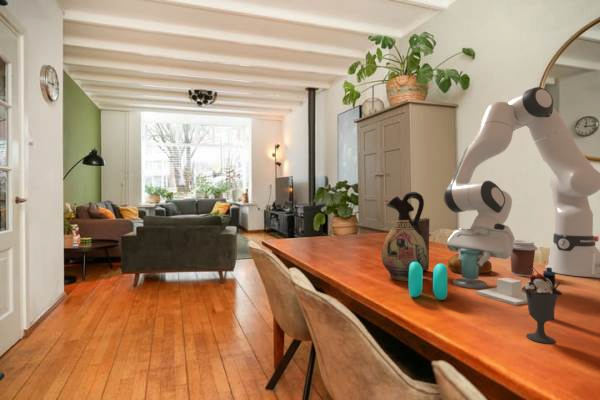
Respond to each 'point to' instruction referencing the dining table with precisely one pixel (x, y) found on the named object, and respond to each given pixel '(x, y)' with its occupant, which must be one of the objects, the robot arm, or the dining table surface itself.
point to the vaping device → (550, 278)
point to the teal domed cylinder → (469, 263)
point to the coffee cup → (522, 257)
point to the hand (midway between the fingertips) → (469, 263)
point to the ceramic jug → (404, 239)
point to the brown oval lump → (457, 266)
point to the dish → (470, 283)
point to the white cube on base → (506, 291)
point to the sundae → (541, 304)
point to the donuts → (438, 280)
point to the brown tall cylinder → (425, 235)
